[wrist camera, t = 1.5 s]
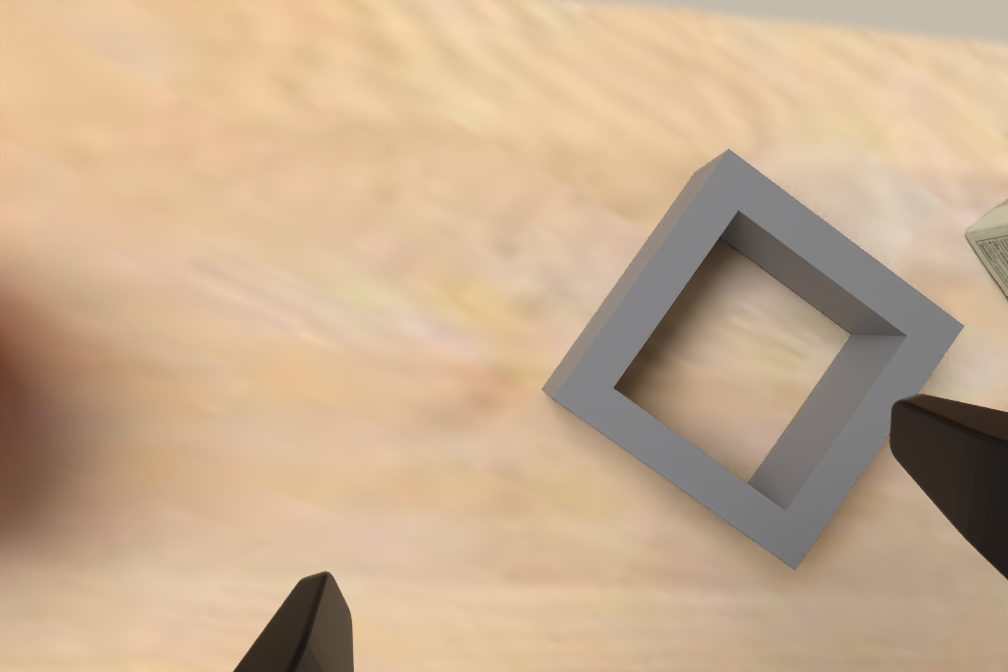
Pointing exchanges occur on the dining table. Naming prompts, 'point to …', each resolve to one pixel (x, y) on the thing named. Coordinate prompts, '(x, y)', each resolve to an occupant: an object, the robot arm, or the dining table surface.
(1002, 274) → the box
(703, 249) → the block
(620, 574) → the dining table surface
